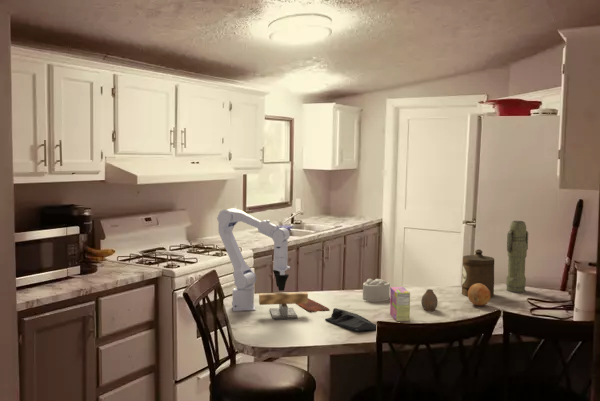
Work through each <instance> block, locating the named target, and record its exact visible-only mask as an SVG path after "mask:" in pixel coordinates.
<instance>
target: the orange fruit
mask: <svg viewBox="0 0 600 401" xmlns="http://www.w3.org/2000/svg"><path fill="white" fill-rule="evenodd" d="M467 299H468V300H469V302H470V303H471V304H473V305H474V306H478V307H479V306H481V307H482V306H485V305H487V304H488V303H489V301H490V300H491V297H490V291H489V289H488V288H487V287H486V286H485V285H483V284H480V283H477V284H473V285H472V286H471V287H470V288H469V290H468V296H467Z"/></svg>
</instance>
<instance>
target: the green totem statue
mask: <svg viewBox="0 0 600 401" xmlns="http://www.w3.org/2000/svg"><path fill="white" fill-rule="evenodd" d="M510 223H511V224H510V226H509V230H508V232H507V235H506V236H507V238H506V239H507V241H506V251H507V256H508V260H507V262H508V264H507V275H506V282H505V285H506V291H508V292H510V293H517V294H518V293H519V294H520V293H525V292H526V279H527V278H526V275H525V274H526V258H527V253H528V252H527V251H528V249H529V248H528V247H529V232H528V230H527V225H526V222H525V221H522V220H513V221H511V222H510Z"/></svg>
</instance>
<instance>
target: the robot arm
mask: <svg viewBox="0 0 600 401" xmlns="http://www.w3.org/2000/svg"><path fill="white" fill-rule="evenodd" d="M216 218H217V222H218V226H217V227H218V234H219V236H220V239H221V241H222V244H223V246H224V248H225V250H226V253H227V254H228V255H227V256H228V259H229V260H230V262H231V265H232V267H233V269H234V270H233V274H232V276H233V281H234V285H235V288H232V295H231V296H232V297H231V298H232V301H231V306H232V311H233V312H235V311H236V312H239V311H241V312H243V311H255V310H256V307H255V301H254V300H255V285H254V284H256V282H257V279H258V278H257V275H256V273H255V272H254V271H253V270H252V268H251V267H250V266H249V265H247V263H246V260H245V258H244V256H243V254H242V251H241V249H240V247H239V244H238V242H237V240H236V238H235V236H234V233H233V230H234V228H235V226H236V224H238V222H242V223H245V224H247V225H248V226H250V227H253V228H256V229H257V230H258V232H259V233H260V234H262V235H264V236H267V237H268V238H271V239H272V240H273V268H272V272H273V274H274V279H275V284H276V287H277V288H278V291H279V292H284V291H285V288H286V284H287V281H288V278H289V274H288V273H287V274H286V272H287V270H290V269H291V266H289V265H288V258H289V257H288V254H289V253H288V252H289V251H288V246H289V244H288V243H289V238H290V237H291V233H290V231H289V229H288V228H287V227H285V226H280V225H279V224H274V223H272V222H271V220H270V219H264V220H260V219H258V218H256V217H254V216H253V215H251V214H249V213H246V212H245V211H244V210H242V209H238V208H237V207H232V208H228V209H227V208H226V209H222V210H220V212H218V215H217V217H216Z"/></svg>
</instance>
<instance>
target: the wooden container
mask: <svg viewBox="0 0 600 401" xmlns="http://www.w3.org/2000/svg"><path fill="white" fill-rule="evenodd" d="M461 273H462V275H461V294H462V295H463V296H466V297H468V290H469V288H470V287H471V286H472V285H473V284H477V283H480V284H483V285H485V286H486V287H487V288H488V289H489V291H490V298H493V297H494V296H495V293H494V292H495V257H492V256H487V255H484V254H483V250H481V249H476V250H475V254H468V255H464V256H463V257H462V272H461Z"/></svg>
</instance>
